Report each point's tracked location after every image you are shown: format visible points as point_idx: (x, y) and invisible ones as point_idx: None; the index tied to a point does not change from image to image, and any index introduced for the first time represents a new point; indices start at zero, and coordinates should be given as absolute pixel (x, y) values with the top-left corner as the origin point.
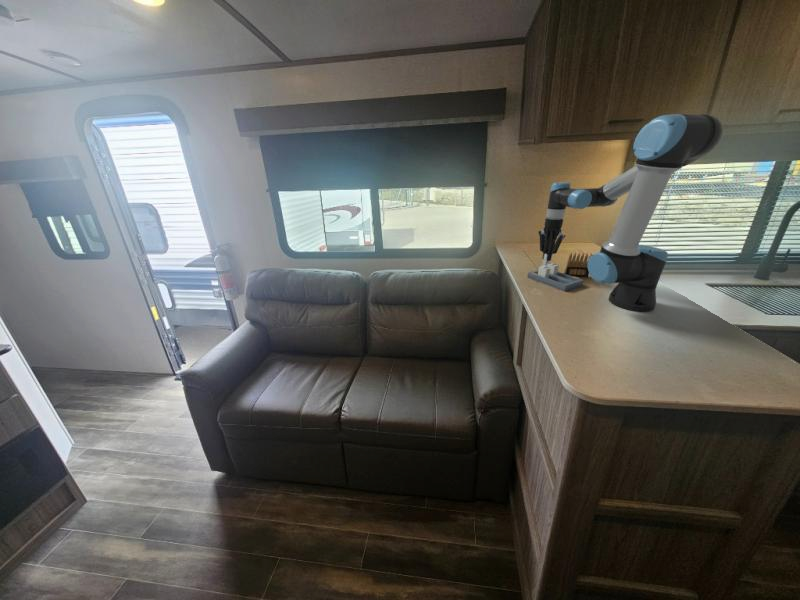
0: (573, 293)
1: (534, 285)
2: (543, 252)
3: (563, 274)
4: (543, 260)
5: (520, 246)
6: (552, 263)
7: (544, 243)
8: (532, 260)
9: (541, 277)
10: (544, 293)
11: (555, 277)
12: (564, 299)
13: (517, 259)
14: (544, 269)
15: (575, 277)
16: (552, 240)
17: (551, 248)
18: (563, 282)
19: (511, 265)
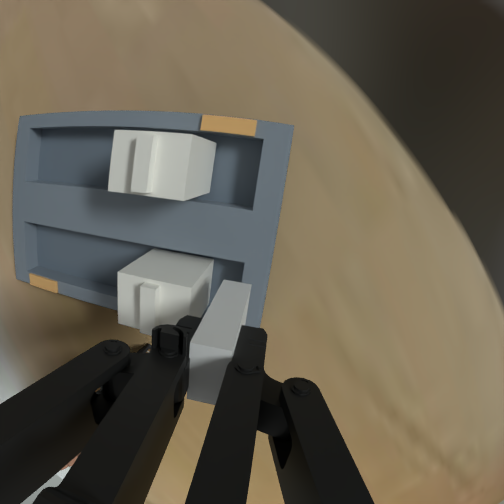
0: (15, 135)
1: (176, 44)
2: (250, 361)
3: (107, 294)
4: (241, 308)
5: (482, 500)
6: (150, 304)
7: (289, 496)
8: (412, 442)
9: (162, 112)
10: (92, 12)
11: (98, 189)
12: (21, 47)
13: (481, 399)
14: (135, 130)
15: (43, 281)
16: (53, 497)
17: (122, 404)
18: (59, 183)
19: (486, 286)
